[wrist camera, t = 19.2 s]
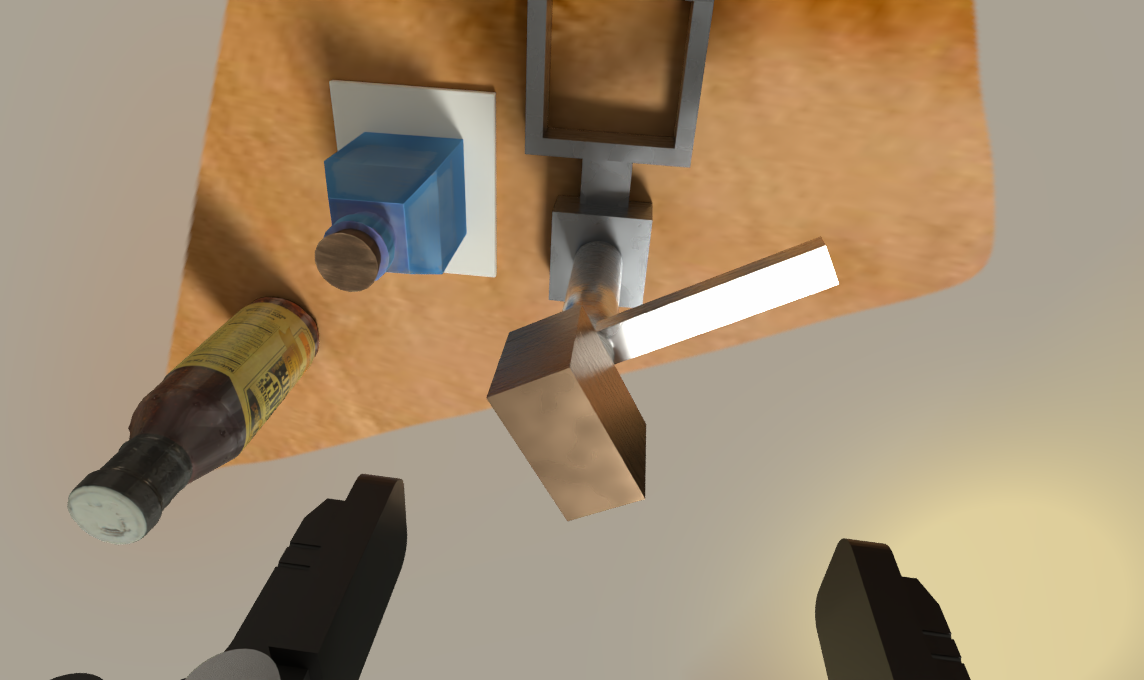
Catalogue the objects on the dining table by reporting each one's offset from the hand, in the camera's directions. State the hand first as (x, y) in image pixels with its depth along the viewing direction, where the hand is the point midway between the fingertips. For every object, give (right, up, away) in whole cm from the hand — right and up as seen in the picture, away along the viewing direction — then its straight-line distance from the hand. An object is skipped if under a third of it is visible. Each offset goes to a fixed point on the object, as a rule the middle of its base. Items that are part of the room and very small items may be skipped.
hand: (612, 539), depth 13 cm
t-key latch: (+5, +10, +28) cm, 31 cm away
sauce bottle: (-22, +5, +39) cm, 45 cm away
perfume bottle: (-11, +14, +31) cm, 36 cm away
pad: (-11, +14, +32) cm, 36 cm away
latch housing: (+2, +15, +29) cm, 33 cm away
